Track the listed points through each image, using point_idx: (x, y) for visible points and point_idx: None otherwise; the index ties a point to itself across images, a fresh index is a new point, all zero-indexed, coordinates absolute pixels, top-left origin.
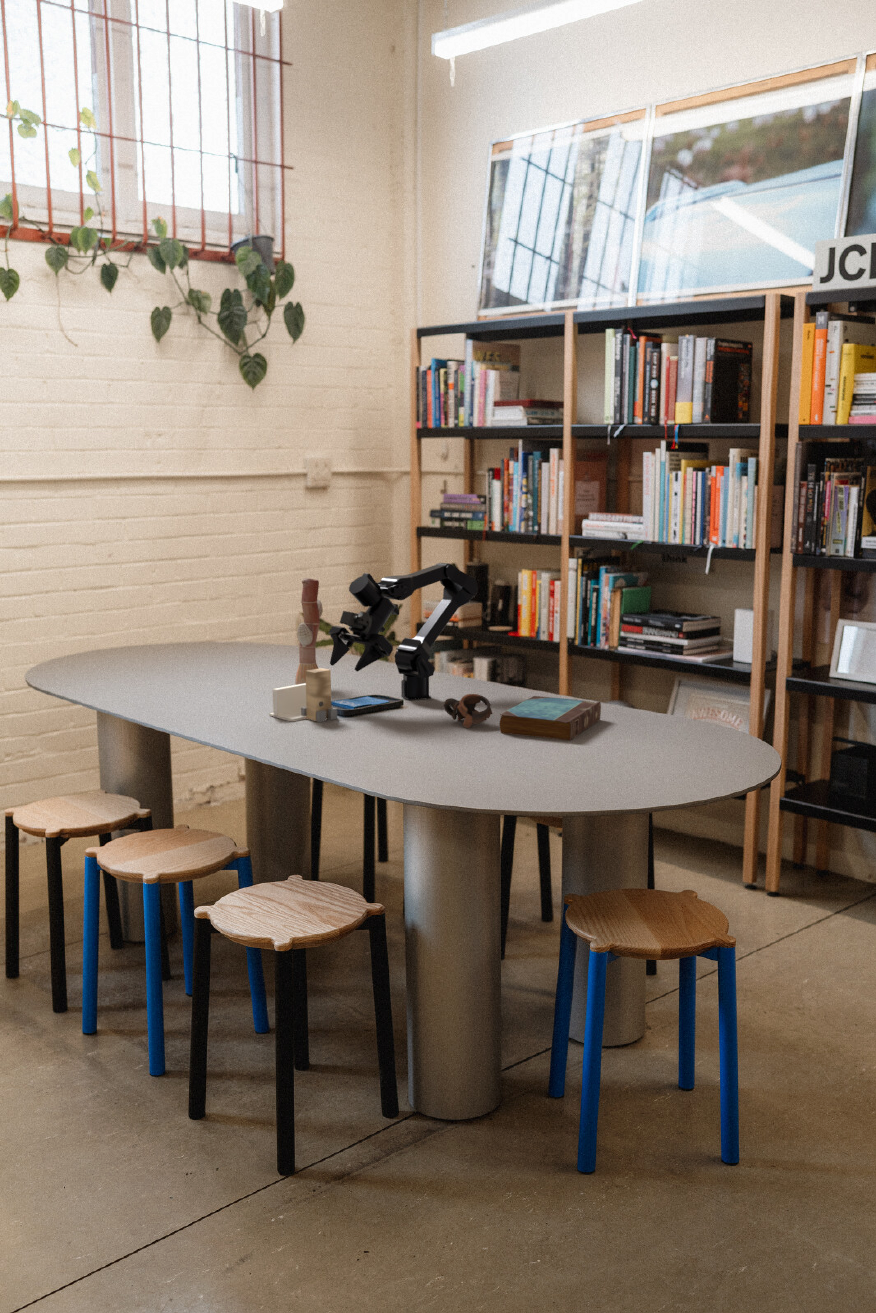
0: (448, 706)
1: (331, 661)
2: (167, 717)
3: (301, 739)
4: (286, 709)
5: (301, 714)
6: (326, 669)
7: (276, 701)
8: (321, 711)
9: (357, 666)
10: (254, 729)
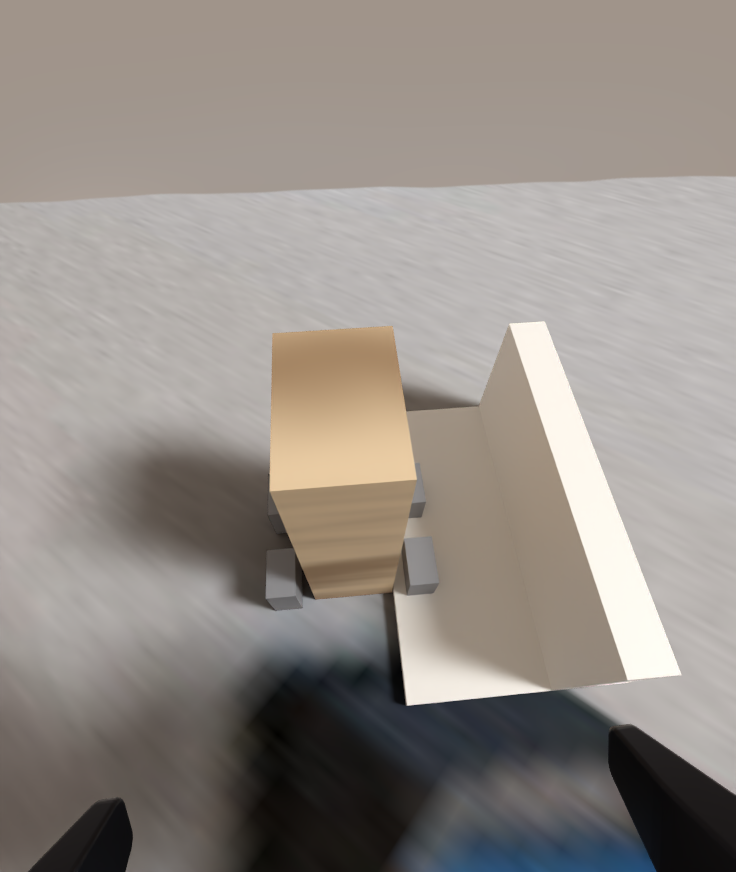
0: None
1: (630, 746)
2: (676, 200)
3: (121, 315)
4: (495, 441)
5: None
6: (318, 475)
7: (496, 365)
8: None
9: (57, 843)
10: (359, 284)
